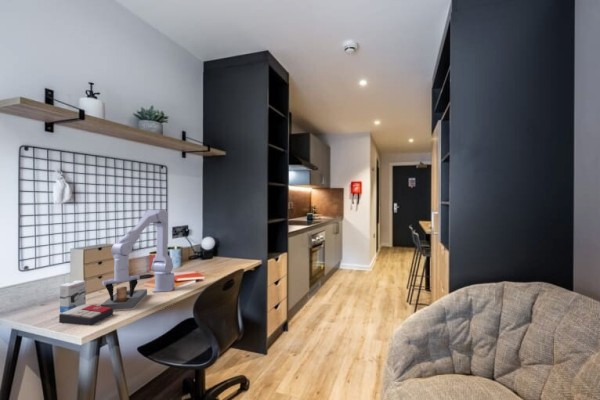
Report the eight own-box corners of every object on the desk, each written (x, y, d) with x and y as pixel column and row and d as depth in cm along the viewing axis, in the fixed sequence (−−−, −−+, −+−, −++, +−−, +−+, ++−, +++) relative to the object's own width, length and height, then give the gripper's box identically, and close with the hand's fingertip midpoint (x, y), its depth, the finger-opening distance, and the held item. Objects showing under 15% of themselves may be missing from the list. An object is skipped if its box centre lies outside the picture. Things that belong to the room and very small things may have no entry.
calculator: (91, 317, 115) (58, 312, 118) (90, 328, 115) (58, 323, 118) (113, 306, 126) (83, 302, 129) (113, 316, 126) (83, 312, 129)
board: (147, 295, 152) (147, 289, 151) (133, 309, 132) (133, 302, 132) (119, 296, 149) (118, 290, 149) (100, 311, 129) (100, 304, 129)
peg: (127, 305, 136) (127, 287, 136) (117, 307, 133) (117, 289, 133) (125, 303, 138) (125, 286, 138) (115, 305, 136) (115, 287, 136)
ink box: (68, 313, 128) (68, 285, 128) (59, 312, 129) (59, 285, 129) (86, 306, 136) (86, 280, 136) (77, 305, 137) (77, 279, 137)
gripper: (136, 264, 143) (136, 292, 143) (100, 269, 133) (101, 299, 133) (141, 267, 138) (141, 296, 138) (104, 272, 128) (104, 303, 128)
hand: (121, 298), depth 135 cm, fingers open, 7 cm apart
